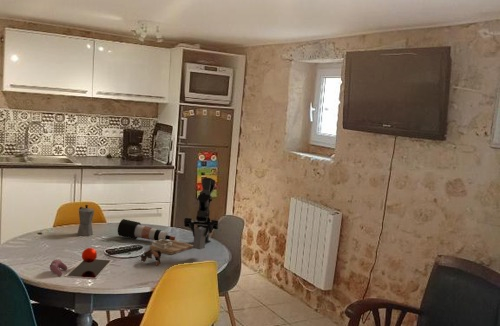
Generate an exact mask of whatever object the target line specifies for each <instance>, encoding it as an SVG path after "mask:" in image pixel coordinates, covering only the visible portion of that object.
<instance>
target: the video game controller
mask: <svg viewBox="0 0 500 326" xmlns="http://www.w3.org/2000/svg"><path fill="white" fill-rule="evenodd" d="M49 269H50V271H51V272H52V273H53V274H54V275H56V276H59V277H62V275H63V272H62V270H63V271H66V270H68V266H67V265H66V264H65V263H64V262H62V261H61V260H60V259H54V260H52V261H51V263H50V264H49Z"/></svg>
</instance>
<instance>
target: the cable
mask: <svg viewBox="0 0 500 326" xmlns="http://www.w3.org/2000/svg"><path fill="white" fill-rule="evenodd" d="M117 235H118V236H120V237H124V238H129V239H132V240H137V239H138V238H141V239H145V240H151V241H157V240H161V239H163V240H167V241H170V240H175V241H176V236H173V235H172V236H171V235H169V232H168V231H164V230H161V229H157V228H153V227H150V226H146V225H142V224H141V222H139V221H134V220H130V219H125V218H122V219H121V220H120V222H119V224H118V226H117Z"/></svg>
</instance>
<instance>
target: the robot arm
mask: <svg viewBox="0 0 500 326" xmlns="http://www.w3.org/2000/svg"><path fill="white" fill-rule="evenodd" d="M201 187H202V188H201V189H202V190H201V191H200V192H199V194H198V195H197V198H196V200H197V204H198V209H197V211H196V217H195V218H196V220H194V219H193V218H192V217H185V218H184V219H183V226H184V227H186V228H189V229H190V230H191V233H192V236H193V238H194V229H195V225H197V226H196V228H197V227H203V228H206V234H205V244H207V243H210V242H212V241H211V240H209V239H210V234H212V233H213V230H218V229H219V220H218V219H210V213H211V210H210V208H211V207H210V206H211V203H212V201H213V196H212V193H213V192H214V191H215V187H216V180H215V179H213V178H212V177H204V178H201Z"/></svg>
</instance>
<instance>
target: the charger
mask: <svg viewBox="0 0 500 326" xmlns="http://www.w3.org/2000/svg"><path fill="white" fill-rule="evenodd" d="M205 234H206V228H203V227H197V226H196V227H194V237H193V244H192V245H193V248H192V249H196V250H202V249H206V248H205V247H206V243H205Z"/></svg>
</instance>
